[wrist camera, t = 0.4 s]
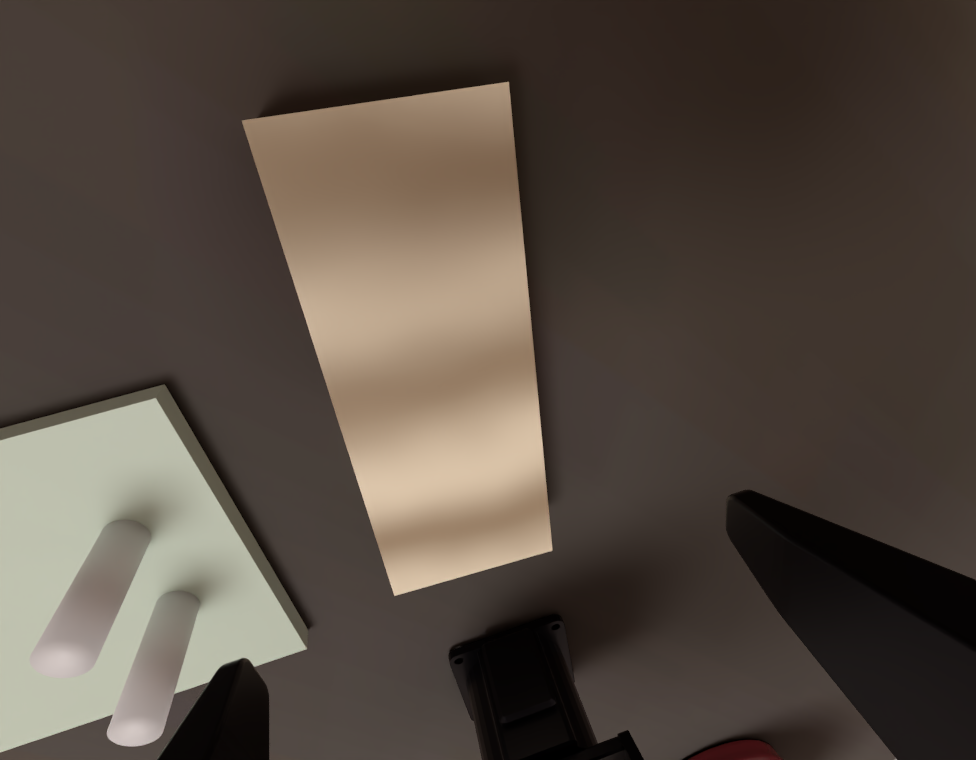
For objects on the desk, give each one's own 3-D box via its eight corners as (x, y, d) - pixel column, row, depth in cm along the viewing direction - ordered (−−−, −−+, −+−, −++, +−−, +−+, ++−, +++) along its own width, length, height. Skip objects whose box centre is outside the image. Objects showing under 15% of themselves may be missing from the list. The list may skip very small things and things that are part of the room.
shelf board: (531, 505, 25) (552, 550, 23) (389, 544, 24) (394, 595, 22) (483, 85, 17) (508, 81, 14) (258, 118, 16) (241, 120, 13)
